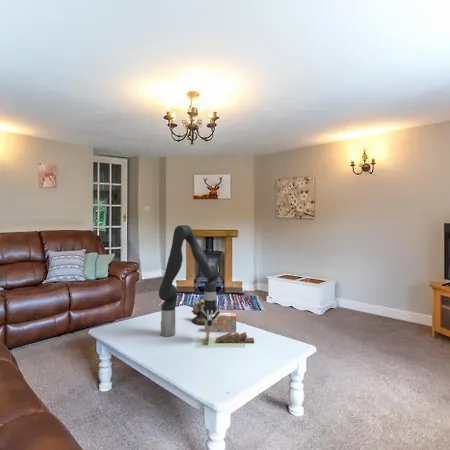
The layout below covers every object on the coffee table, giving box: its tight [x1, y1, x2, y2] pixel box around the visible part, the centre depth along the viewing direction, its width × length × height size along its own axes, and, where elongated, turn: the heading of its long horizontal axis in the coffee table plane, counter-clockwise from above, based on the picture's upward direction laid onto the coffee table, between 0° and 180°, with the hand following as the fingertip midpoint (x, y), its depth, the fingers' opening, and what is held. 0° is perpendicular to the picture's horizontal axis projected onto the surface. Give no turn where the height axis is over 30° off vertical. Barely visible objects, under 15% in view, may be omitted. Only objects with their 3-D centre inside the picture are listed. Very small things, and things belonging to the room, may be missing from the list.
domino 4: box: [231, 331, 248, 343], centre depth 203 cm, size 2×5×10 cm
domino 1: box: [205, 331, 210, 345], centre depth 203 cm, size 2×5×10 cm
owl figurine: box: [191, 298, 210, 327], centre depth 243 cm, size 18×12×17 cm, turn 51°
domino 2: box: [215, 333, 233, 343], centre depth 204 cm, size 2×5×10 cm
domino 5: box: [238, 337, 255, 344], centre depth 204 cm, size 2×5×10 cm
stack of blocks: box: [204, 312, 237, 334], centre depth 223 cm, size 21×6×12 cm, turn 85°
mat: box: [194, 337, 246, 349], centre depth 203 cm, size 30×16×1 cm, turn 90°
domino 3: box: [224, 331, 240, 343], centre depth 204 cm, size 2×5×10 cm
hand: (209, 325), depth 204 cm, fingers closed
